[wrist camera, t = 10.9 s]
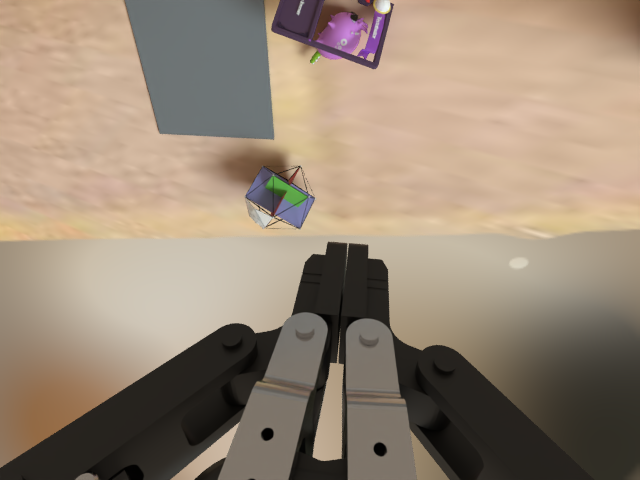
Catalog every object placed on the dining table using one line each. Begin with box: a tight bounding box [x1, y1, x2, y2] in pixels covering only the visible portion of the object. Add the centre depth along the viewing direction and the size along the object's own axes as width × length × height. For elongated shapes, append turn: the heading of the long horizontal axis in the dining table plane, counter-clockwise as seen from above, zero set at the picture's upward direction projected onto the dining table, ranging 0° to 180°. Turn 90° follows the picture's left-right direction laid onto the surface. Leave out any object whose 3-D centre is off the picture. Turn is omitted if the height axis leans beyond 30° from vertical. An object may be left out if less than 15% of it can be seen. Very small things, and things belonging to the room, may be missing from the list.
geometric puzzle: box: [244, 165, 316, 230], centre depth 39 cm, size 7×7×8 cm
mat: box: [125, 0, 274, 139], centre depth 36 cm, size 13×14×1 cm
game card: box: [271, 0, 394, 69], centre depth 32 cm, size 7×5×9 cm
